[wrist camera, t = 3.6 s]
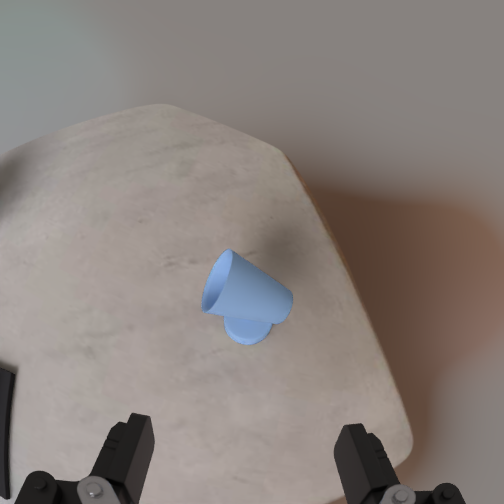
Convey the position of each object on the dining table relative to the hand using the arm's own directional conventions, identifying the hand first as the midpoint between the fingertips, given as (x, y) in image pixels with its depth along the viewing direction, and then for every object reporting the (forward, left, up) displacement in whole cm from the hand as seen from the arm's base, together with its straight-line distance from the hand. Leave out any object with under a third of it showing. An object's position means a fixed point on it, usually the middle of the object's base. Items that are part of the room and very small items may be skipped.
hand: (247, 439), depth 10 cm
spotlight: (+10, 0, -15) cm, 18 cm away
